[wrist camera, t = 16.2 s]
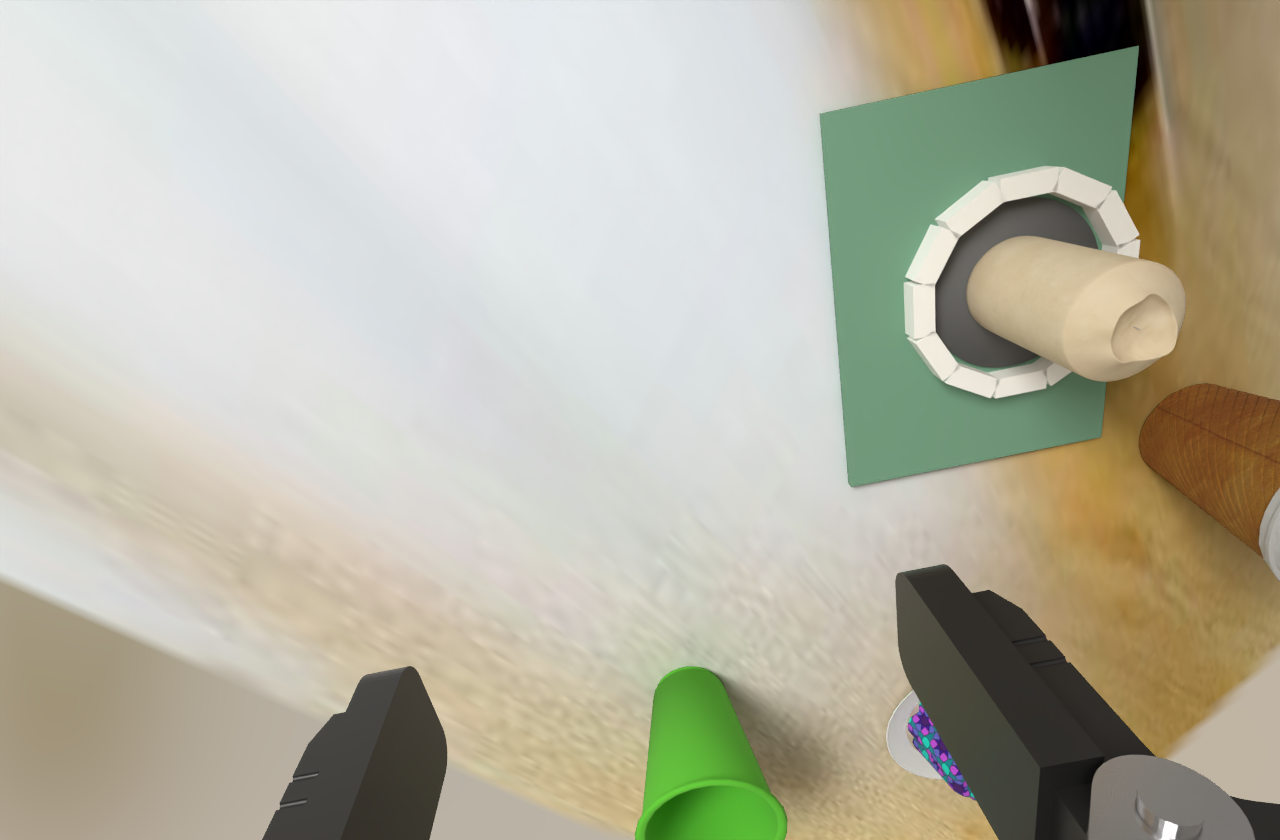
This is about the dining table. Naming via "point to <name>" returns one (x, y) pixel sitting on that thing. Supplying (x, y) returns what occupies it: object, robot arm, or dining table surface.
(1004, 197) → the putting green
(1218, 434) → the disposable coffee cup
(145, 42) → the dining table surface
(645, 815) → the cup
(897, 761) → the pudding
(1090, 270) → the candle
